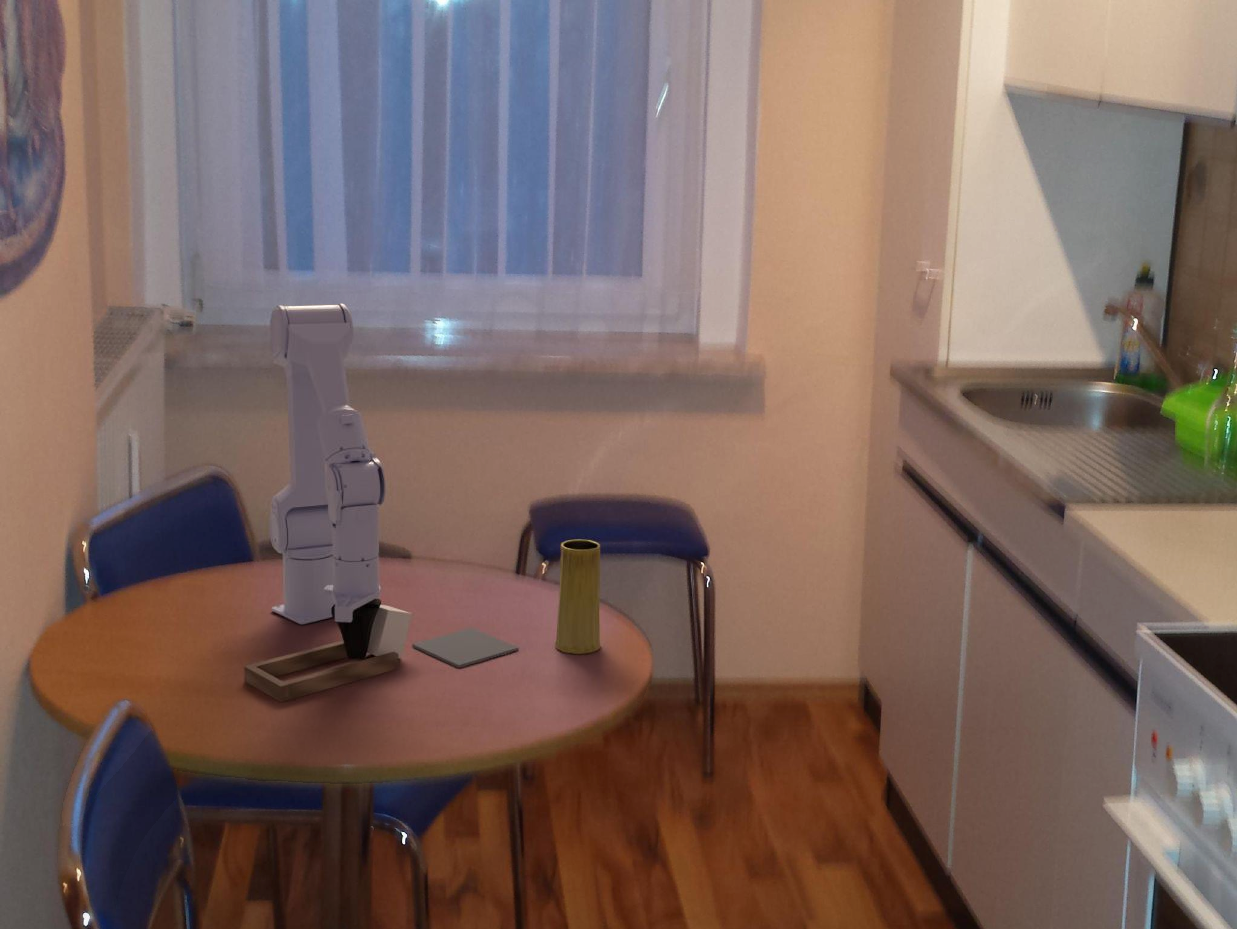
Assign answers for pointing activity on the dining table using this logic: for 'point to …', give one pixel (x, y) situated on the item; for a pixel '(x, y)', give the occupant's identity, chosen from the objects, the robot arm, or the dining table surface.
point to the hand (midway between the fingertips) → (357, 657)
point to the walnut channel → (282, 691)
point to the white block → (389, 631)
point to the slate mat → (465, 647)
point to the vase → (579, 597)
